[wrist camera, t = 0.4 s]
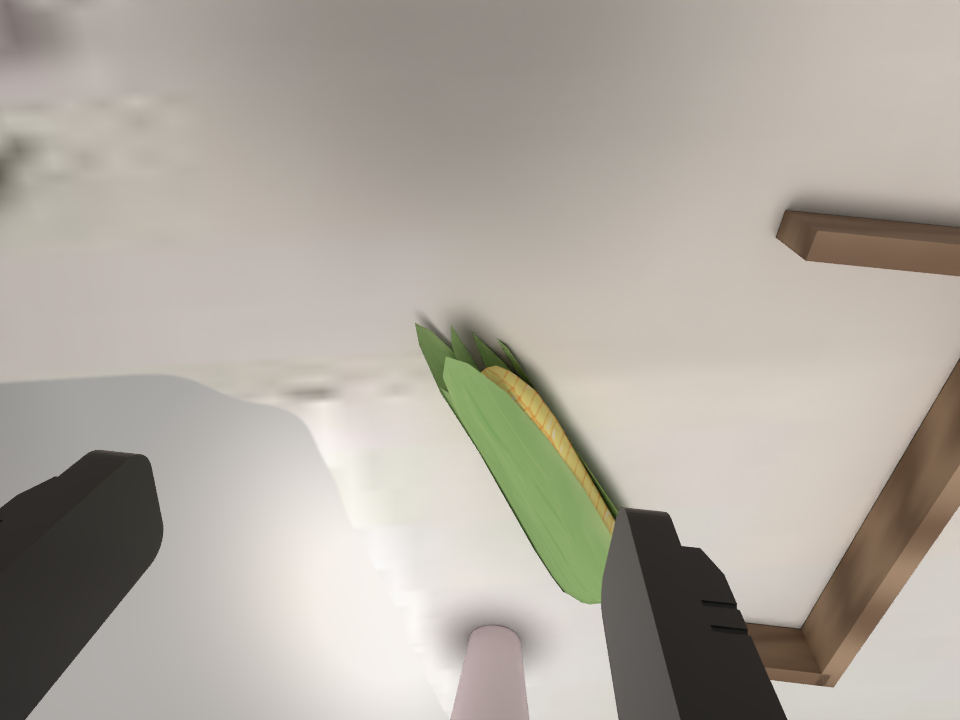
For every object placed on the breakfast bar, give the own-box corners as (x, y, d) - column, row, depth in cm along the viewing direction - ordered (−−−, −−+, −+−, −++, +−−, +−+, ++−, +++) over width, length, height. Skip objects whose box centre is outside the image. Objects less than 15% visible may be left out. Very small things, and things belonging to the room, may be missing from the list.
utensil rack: (785, 210, 24) (817, 230, 21) (1062, 237, 24) (1128, 261, 21) (639, 622, 38) (648, 665, 35) (812, 642, 37) (833, 687, 35)
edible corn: (571, 629, 32) (647, 631, 30) (382, 355, 25) (463, 328, 22) (587, 556, 36) (656, 552, 34) (429, 300, 29) (502, 271, 26)
